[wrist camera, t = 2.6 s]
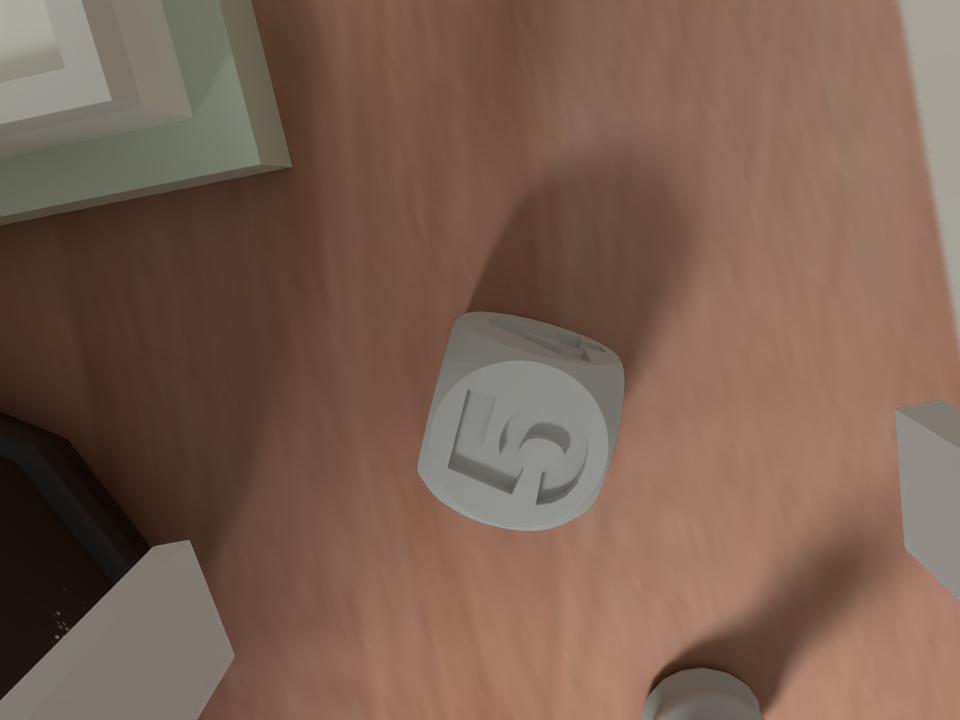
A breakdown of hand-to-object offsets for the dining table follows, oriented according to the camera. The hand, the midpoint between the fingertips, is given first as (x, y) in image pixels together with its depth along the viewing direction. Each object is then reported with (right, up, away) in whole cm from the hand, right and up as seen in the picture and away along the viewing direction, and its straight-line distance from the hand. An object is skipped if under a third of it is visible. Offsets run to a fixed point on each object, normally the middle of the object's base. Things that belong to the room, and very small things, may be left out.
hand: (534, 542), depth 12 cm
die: (0, +2, +10) cm, 10 cm away
